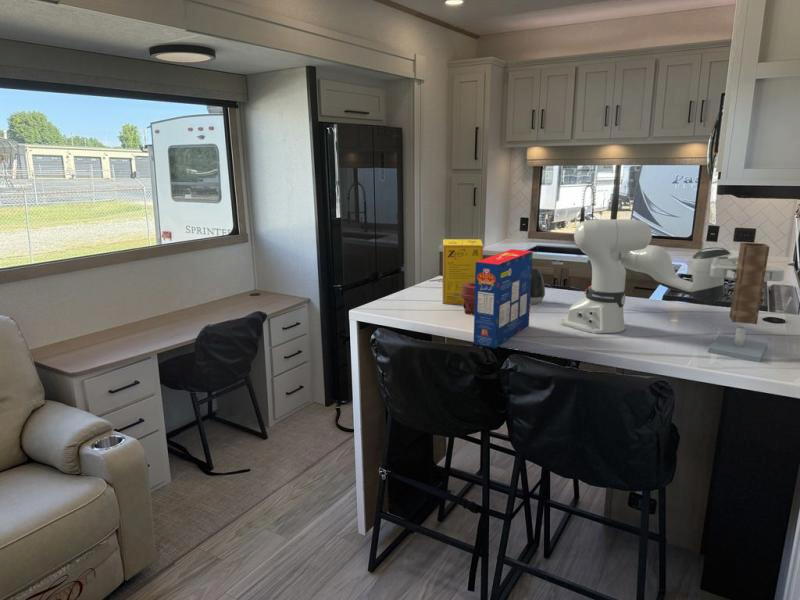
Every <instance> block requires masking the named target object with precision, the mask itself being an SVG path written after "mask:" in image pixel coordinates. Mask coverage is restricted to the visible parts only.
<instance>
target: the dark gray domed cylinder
mask: <svg viewBox="0 0 800 600" xmlns="http://www.w3.org/2000/svg"><path fill="white" fill-rule="evenodd" d="M545 296H546V288H545V283H544V279H543V275H542V273H541V271H540V269H539V268H538V267H534V266H532V274H531V293H530V305H538V304H539V303H541V302H542V301H543V300H544V298H545Z"/></svg>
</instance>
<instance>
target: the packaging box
mask: <svg viewBox="0 0 800 600" xmlns="http://www.w3.org/2000/svg"><path fill="white" fill-rule="evenodd" d="M483 252H484V244H483V242H482V239H474V238H473V239H458V238H455V239H450V238H449V239H448V238H447V239H443V243H442V304H443V305H445V304H446V305H449V304H451V305H453V304H454V305H464V299H463V298H461V297H460V292H462V285H463V284H465V283H468V282H475V269H476V262H477V261H480V260H482V259H484V258H483Z"/></svg>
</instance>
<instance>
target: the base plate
mask: <svg viewBox="0 0 800 600" xmlns="http://www.w3.org/2000/svg"><path fill="white" fill-rule="evenodd" d="M746 330H747V329H746V328H745V327H743V326H738V327H736V329H735V334H734V337H732V336H728V335H722V334H718V335H717V337H716V338H715V339H714V340H713V342H712V343H711V344H710V345H709V346H708V348H707V349H708V350H707V353H709V354H714V355H721V356H725V357H731V358H736V359H740V358H741V359H740V360H745V359H747V360H746V361H751V360H752V362H756V361H757V362H756V363H760V362H761V361H762V358H763V357H764V354H765V353H766V352H767V349H768V343H767V342H762V341H756V340H749V339H746V338H745V337H746Z"/></svg>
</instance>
